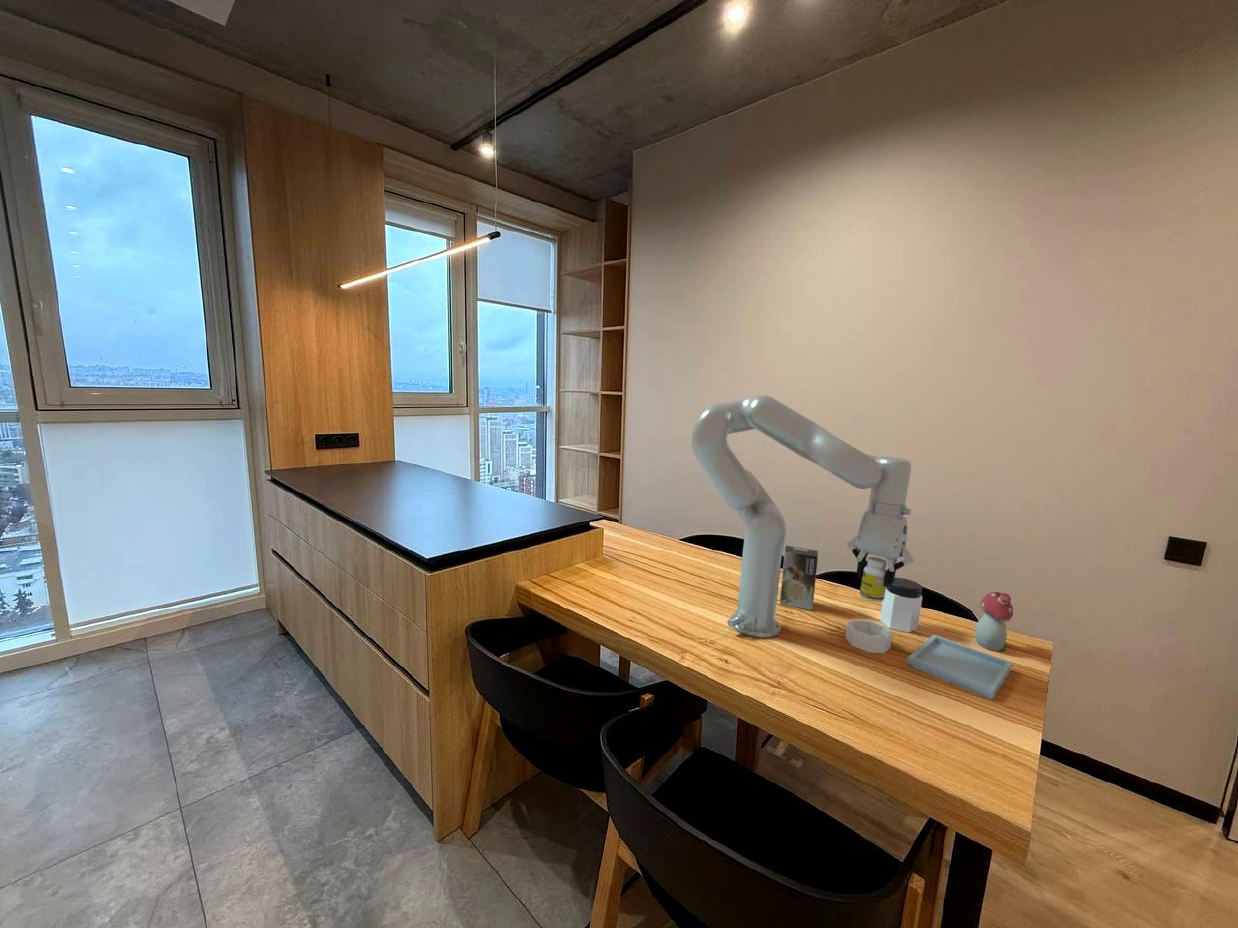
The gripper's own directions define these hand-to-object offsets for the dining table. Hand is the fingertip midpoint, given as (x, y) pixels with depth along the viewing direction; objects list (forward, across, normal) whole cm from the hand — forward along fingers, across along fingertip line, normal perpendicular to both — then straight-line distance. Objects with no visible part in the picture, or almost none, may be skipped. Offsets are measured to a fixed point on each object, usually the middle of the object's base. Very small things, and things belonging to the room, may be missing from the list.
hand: (874, 580), depth 120 cm
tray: (+16, -19, -6) cm, 25 cm away
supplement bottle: (+5, 0, 0) cm, 5 cm away
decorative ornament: (+16, -21, -26) cm, 37 cm away
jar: (+16, -2, -18) cm, 25 cm away
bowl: (+16, -1, 0) cm, 16 cm away
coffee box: (+17, +22, -7) cm, 29 cm away
